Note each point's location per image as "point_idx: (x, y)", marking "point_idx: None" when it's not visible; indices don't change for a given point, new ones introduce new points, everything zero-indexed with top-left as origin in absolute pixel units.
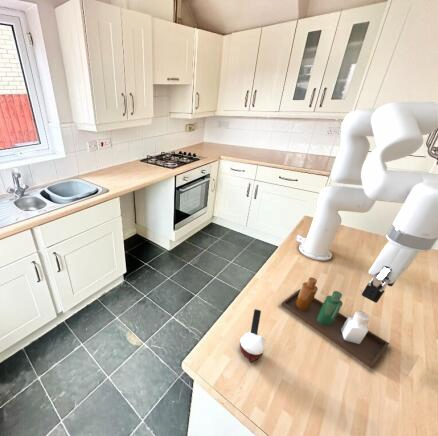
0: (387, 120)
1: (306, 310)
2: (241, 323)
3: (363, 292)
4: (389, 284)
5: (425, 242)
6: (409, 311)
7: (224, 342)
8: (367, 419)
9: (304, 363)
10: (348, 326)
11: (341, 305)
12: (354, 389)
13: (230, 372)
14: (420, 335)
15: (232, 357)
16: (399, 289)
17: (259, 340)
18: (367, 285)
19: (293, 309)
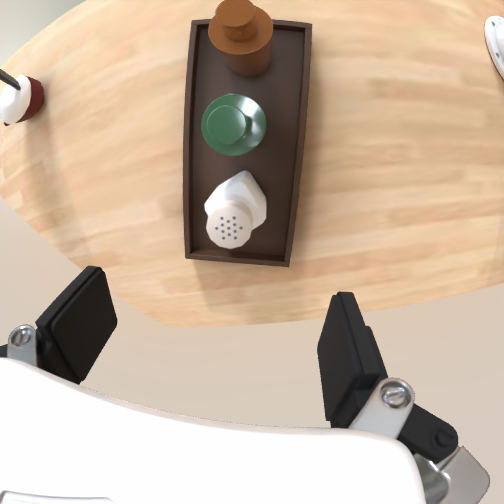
0: None
1: (238, 74)
2: (72, 34)
3: (79, 278)
4: (321, 348)
5: None
6: (446, 266)
7: (25, 65)
8: None
9: (88, 162)
10: (216, 192)
11: (228, 154)
12: (122, 243)
13: None
14: (384, 293)
15: None
16: (498, 239)
17: (3, 109)
18: (44, 315)
19: (190, 52)
